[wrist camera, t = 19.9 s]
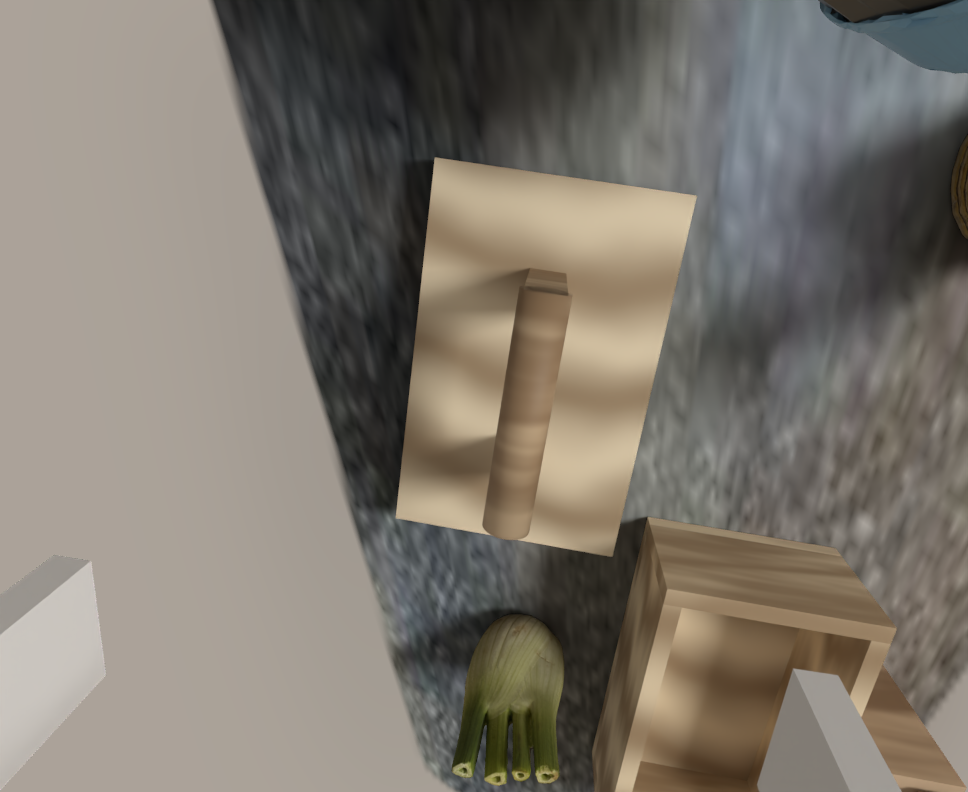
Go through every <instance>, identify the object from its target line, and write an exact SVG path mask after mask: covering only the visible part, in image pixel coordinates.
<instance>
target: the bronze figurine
mask: <svg viewBox="0 0 968 792" xmlns="http://www.w3.org/2000/svg"><path fill="white" fill-rule="evenodd" d="M951 199H952V213H953V215H954V217H955V220H956V222H957V224H958V226H959V228H960V230H961V233H962V235H963V236H964V237H965V238H967V239H968V135H967V136H966V138H965V140H964V141H963V143H962V145H961V147H960V150H959V153H958V156H957V159H956V162H955V165H954V168H953V172H952V182H951Z"/></svg>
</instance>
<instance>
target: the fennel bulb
mask: <svg viewBox="0 0 968 792" xmlns="http://www.w3.org/2000/svg"><path fill="white" fill-rule="evenodd" d="M563 682H564V656H563V651H562V646H561V643H560V641H559V640H558V639H557V637H556V636H555V635H554V634H553V633H552V632H551V631H550V630H549V629H548V627H547V626H546V625H545V624H544V623H543V622H541V621H540V620H538V619H537V618H534V617H533V616H531V615H523V614H510V615H506V616H504V617H501V618H500V619H497V620H496V621H494V622H493V623H492V624H491V625H490V626H489V628H488V629H487V630H486V631H485V633H484V634H483V636H482V637H481V639H480V641H479V643H478V645H477V647H476V649H475V651H474V654H473V656H472V659H471V663H470V666H469V669H468V673H467V679H466V685H465V697H464V707H463V715H462V723H461V730H460V734H459V739H458V744H457V748H456V753H455V757H454V760H453V764H452V772H453V773H454V774H455V775H459V776H461V777H464V778H471V777H473V773H474V770H475V766H476V762H477V758H478V753H479V749H480V744H481V739H482V734H483V729H484V726H485V725H487V733H486V734H487V735H486V758H485V777H484V778H485V781H486V782H489V783H490V784H493V785H497V786H499V785H502V784H506V783H507V781H506V780H507V764H508V757H507V748H508V727H509V725H510V724H512V723H513V761H512V774H513V777H514V780H517V781H520V782H522V781H525V780H526V779H528V778H529V776H530V772H531V760H530V754H531V749H533V750H534V764H535V766H534V767H535V775H536V777H537V780H538V782H539V783H547V784H550V783H552V782H553V781H555V780H557V779H558V777H559V776H560V773H559V764H558V756H557V739H556V716H557V711H558V707H559V702H560V698H561V693H562V689H563Z"/></svg>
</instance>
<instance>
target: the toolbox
mask: <svg viewBox="0 0 968 792" xmlns="http://www.w3.org/2000/svg"><path fill="white" fill-rule="evenodd" d="M896 630H897V628H896V627H895V625H894V624H893V623H892V621H891V620H890V619H889V617H888V616H887V615H886V614H885V612H884V611H883V610H882V608H881V607H880V606H879V604H878V603H877V602H876V601H875V599H874V598H873V597H872V595H871V594H870V593H869V591H868V590H867V589H866V588H865V586H864V585H863V584H862V582H861V581H860V580H859V578H858V577H857V576H856V575H855V573H854V572H853V571H852V569H851V568H850V567H849V565H848V564H847V563H846V562H845V560H844V559H843V558H842V556H841V555H840V554H839V552H838V551H837V550H836V549H835V548H832V547H826V546H820V545H814V544H808V543H802V542H796V541H790V540H784V539H778V538H772V537H766V536H760V535H754V534H748V533H742V532H736V531H730V530H724V529H718V528H712V527H706V526H700V525H694V524H688V523H682V522H676V521H670V520H664V519H658V518H652V517H648V518H647V522H646V526H645V530H644V534H643V539H642V543H641V547H640V551H639V555H638V560H637V564H636V568H635V572H634V577H633V581H632V585H631V589H630V593H629V598H628V602H627V606H626V610H625V614H624V619H623V623H622V627H621V631H620V635H619V640H618V644H617V648H616V652H615V657H614V661H613V665H612V669H611V673H610V678H609V682H608V686H607V690H606V694H605V699H604V703H603V707H602V711H601V716H600V720H599V724H598V728H597V732H596V737H595V741H594V745H593V749H592V760H593V776H594V792H759V789H758V786H757V783H758V780H759V777H760V773H761V770H762V767H763V764H764V760H765V757H766V754H767V751H768V748H769V744H770V741H771V738H772V735H773V732H774V728H775V725H776V722H777V719H778V715H779V712H780V709H781V706H782V703H783V699H784V696H785V693H786V690H787V687H788V683H789V680H790V677H791V674H792V670H793V668H794V669H800V670H807V671H813V672H820V673H826V674H833V675H838V676H839V678H840V680H841V681H842V683H843V685H844V687H845V689H846V691H847V692H848V694H849V696H850V698H851V700H852V702H853V703H854V705H855V707H856V709H857V711H858V713H859V714H860V716H861V718H862V720H863V722H864V724H865V725H866V727H867V729H868V731H869V733H870V735H871V736H872V738H873V740H874V742H875V744H876V746H877V747H878V749H879V751H880V753H881V755H882V757H883V758H884V760H885V762H886V764H887V766H888V768H889V769H890V771H891V773H892V775H893V777H894V779H895V780H896V782H897V784H898V786H899V788H900V790H901V791H902V792H917V791H922V792H965V790H966V786H965V785H964V783H963V782H962V781H961V779H960V777H959V776H958V775H957V773H956V772H955V770H954V769H953V767H952V766H951V764H950V763H949V761H948V760H947V758H946V757H945V756H944V754H943V752H942V751H941V750H940V748H939V747H938V745H937V744H936V742H935V741H934V739H933V738H932V736H931V735H930V733H929V732H928V730H927V729H926V728H925V726H924V725H923V723H922V722H921V720H920V719H919V717H918V716H917V714H916V713H915V711H914V710H913V708H912V707H911V706H910V704H909V703H908V701H907V700H906V698H905V697H904V695H903V694H902V692H901V691H900V689H899V688H898V686H897V685H896V684H895V682H894V681H893V679H892V678H891V676H890V675H889V673H888V672H887V670H886V669H885V667H884V666H883V662H884V660H885V657H886V655H887V652H888V650H889V647H890V645H891V642H892V640H893V637H894V635H895V632H896Z"/></svg>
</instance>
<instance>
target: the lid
mask: <svg viewBox="0 0 968 792" xmlns="http://www.w3.org/2000/svg"><path fill="white" fill-rule="evenodd" d="M696 198H697V196H695V195H688V194H681V193H674V192H668V191H661V190H654V189H647V188H640V187H633V186H627V185H620V184H613V183H606V182H599V181H592V180H586V179H579V178H572V177H565V176H558V175H551V174H545V173H538V172H531V171H524V170H517V169H510V168H504V167H497V166H490V165H483V164H476V163H470V162H463V161H456V160H449V159H442V158H435V160H434V169H433V179H432V188H431V197H430V206H429V216H428V225H427V234H426V243H425V252H424V262H423V271H422V280H421V289H420V299H419V308H418V317H417V326H416V335H415V345H414V354H413V363H412V372H411V382H410V391H409V400H408V409H407V418H406V428H405V437H404V446H403V455H402V465H401V474H400V483H399V492H398V501H397V511H396V518H398V519H404V520H410V521H415V522H421V523H426V524H432V525H437V526H443V527H448V528H454V529H459V530H465V531H471V532H476V533H482V534H487V535H492V536H494V537H497V538H500V539H505V540H521V541H526V542H532V543H537V544H543V545H548V546H554V547H559V548H565V549H570V550H576V551H582V552H587V553H593V554H598V555H604V556H609V557H612V556H613V552H614V548H615V544H616V539H617V535H618V531H619V527H620V522H621V518H622V514H623V510H624V505H625V501H626V497H627V492H628V488H629V484H630V480H631V475H632V471H633V467H634V463H635V458H636V454H637V450H638V445H639V441H640V437H641V433H642V428H643V424H644V420H645V416H646V411H647V407H648V403H649V398H650V394H651V390H652V386H653V381H654V377H655V373H656V369H657V364H658V360H659V356H660V351H661V347H662V343H663V339H664V334H665V330H666V326H667V322H668V317H669V313H670V309H671V305H672V300H673V296H674V292H675V287H676V283H677V279H678V275H679V270H680V266H681V262H682V258H683V253H684V249H685V245H686V240H687V236H688V232H689V228H690V223H691V219H692V215H693V211H694V206H695V202H696Z"/></svg>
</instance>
